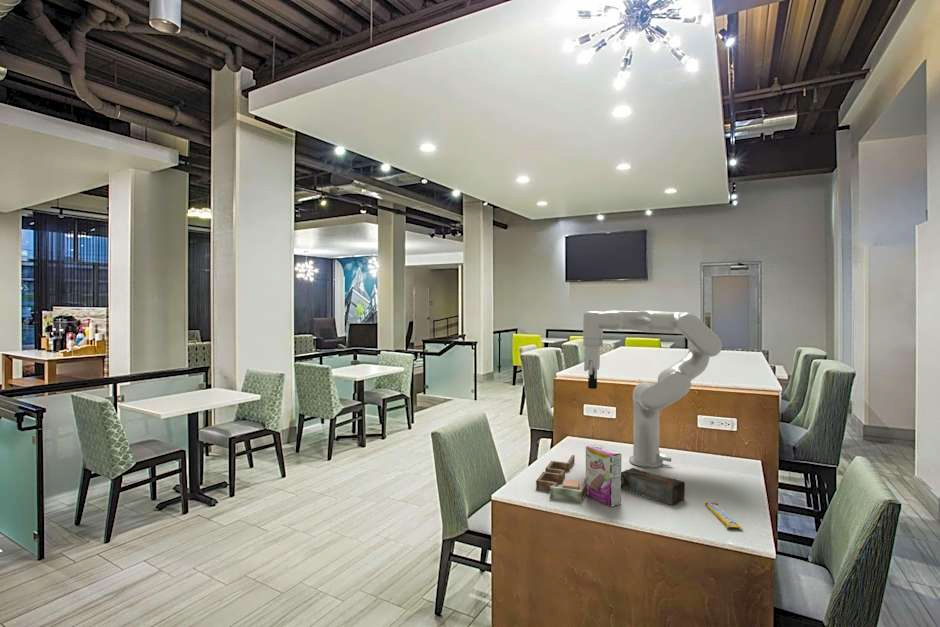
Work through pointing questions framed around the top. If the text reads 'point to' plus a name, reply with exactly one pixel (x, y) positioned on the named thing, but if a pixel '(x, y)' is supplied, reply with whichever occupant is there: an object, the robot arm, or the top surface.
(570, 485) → the block
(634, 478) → the dark brown long block
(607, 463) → the candy bar box
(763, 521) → the top surface
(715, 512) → the candy bar
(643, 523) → the top surface
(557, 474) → the trap lane
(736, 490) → the top surface
